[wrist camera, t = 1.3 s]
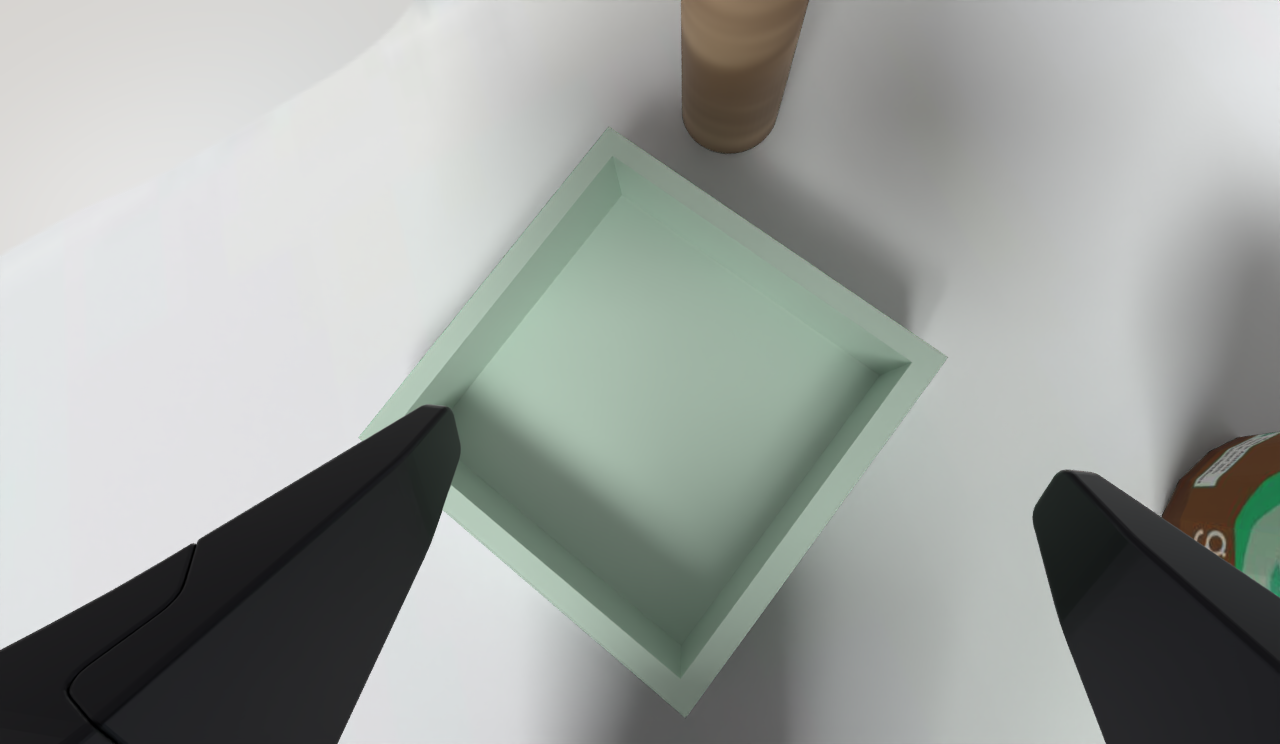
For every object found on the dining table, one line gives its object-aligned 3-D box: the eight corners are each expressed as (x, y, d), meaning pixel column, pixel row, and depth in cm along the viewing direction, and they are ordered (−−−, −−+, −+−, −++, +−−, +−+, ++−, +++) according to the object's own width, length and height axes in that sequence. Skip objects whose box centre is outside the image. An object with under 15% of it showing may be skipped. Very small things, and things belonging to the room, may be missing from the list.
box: (685, 674, 21) (685, 718, 17) (407, 440, 23) (358, 437, 19) (905, 372, 22) (947, 357, 18) (619, 174, 24) (608, 126, 20)
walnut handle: (740, 171, 23) (783, -54, 13) (663, 120, 24) (646, -135, 14) (797, 97, 24) (884, -180, 13) (719, 49, 24) (745, -254, 14)
